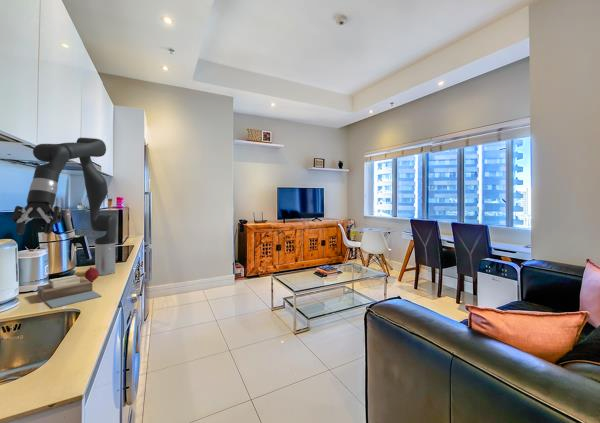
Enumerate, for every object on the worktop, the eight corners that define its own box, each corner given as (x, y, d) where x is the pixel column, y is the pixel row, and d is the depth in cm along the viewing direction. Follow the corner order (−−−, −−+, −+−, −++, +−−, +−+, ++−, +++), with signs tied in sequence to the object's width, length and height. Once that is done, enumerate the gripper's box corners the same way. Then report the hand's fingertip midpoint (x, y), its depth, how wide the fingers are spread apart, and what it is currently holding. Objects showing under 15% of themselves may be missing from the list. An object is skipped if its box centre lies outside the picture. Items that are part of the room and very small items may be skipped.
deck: (37, 295, 115) (37, 286, 115) (83, 286, 128) (83, 277, 128) (45, 302, 108) (44, 292, 108) (92, 291, 121) (92, 282, 121)
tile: (49, 285, 117) (49, 279, 117) (75, 280, 124) (75, 275, 124) (53, 288, 113) (53, 282, 113) (79, 283, 121) (79, 277, 121)
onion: (101, 280, 138) (101, 265, 137) (92, 283, 132) (92, 267, 132) (91, 279, 138) (91, 264, 138) (81, 283, 133) (81, 267, 132)
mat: (45, 302, 108) (45, 301, 108) (92, 291, 121) (92, 290, 121) (52, 308, 102) (52, 307, 102) (101, 296, 116) (101, 295, 115)
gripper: (70, 195, 106) (62, 235, 102) (29, 195, 103) (19, 236, 99) (57, 189, 99) (48, 231, 94) (12, 188, 96) (1, 232, 92)
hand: (33, 233), depth 97 cm, fingers open, 8 cm apart
